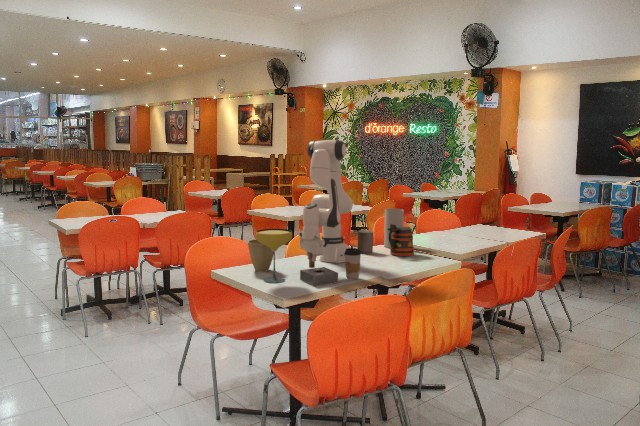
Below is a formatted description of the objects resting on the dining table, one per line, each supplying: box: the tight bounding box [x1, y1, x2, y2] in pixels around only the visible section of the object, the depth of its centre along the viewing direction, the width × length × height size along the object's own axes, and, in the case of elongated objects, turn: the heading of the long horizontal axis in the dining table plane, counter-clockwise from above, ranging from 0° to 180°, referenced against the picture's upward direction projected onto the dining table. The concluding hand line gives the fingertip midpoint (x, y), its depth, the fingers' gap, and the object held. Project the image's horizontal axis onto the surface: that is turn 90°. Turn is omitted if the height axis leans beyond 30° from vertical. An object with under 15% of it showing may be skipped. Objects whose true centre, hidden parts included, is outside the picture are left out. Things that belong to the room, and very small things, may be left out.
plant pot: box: [247, 238, 274, 273], centre depth 288 cm, size 15×15×16 cm
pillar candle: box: [357, 229, 374, 255], centre depth 336 cm, size 10×10×15 cm
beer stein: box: [388, 224, 415, 257], centre depth 329 cm, size 19×15×20 cm
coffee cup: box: [344, 247, 362, 281], centre depth 271 cm, size 8×8×15 cm
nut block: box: [299, 266, 339, 287], centre depth 266 cm, size 14×14×5 cm
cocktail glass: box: [255, 228, 293, 284], centre depth 266 cm, size 18×18×25 cm
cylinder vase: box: [383, 208, 405, 249], centre depth 354 cm, size 12×12×25 cm
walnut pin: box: [308, 252, 316, 269], centre depth 282 cm, size 3×3×10 cm
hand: (311, 260), depth 282 cm, fingers closed on walnut pin, 3 cm apart
